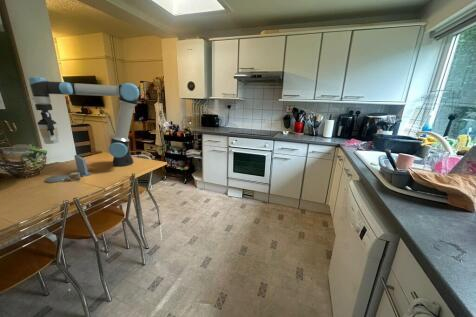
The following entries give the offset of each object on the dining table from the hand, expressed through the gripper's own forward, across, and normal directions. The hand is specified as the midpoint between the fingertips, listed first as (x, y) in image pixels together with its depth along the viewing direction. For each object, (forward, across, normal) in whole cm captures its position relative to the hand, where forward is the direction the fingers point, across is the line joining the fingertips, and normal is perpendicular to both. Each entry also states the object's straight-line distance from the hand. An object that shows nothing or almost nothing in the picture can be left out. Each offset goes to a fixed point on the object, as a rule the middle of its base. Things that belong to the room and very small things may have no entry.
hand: (51, 139), depth 131 cm
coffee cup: (+3, 0, 0) cm, 3 cm away
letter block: (+26, +17, +5) cm, 31 cm away
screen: (+25, +6, +11) cm, 29 cm away
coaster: (+26, +7, -3) cm, 27 cm away
